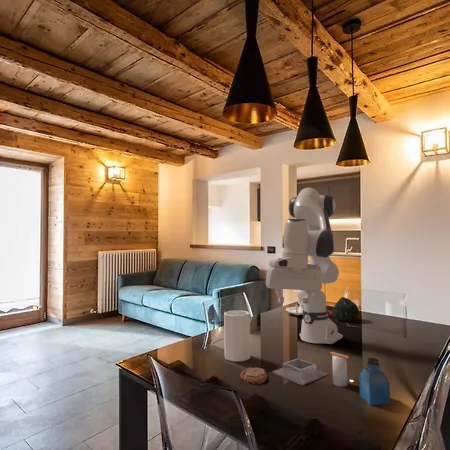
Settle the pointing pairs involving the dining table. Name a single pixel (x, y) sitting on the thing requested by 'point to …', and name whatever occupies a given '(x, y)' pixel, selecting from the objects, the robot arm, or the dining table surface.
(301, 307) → the candlestick
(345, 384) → the white lidded jar
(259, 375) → the cookie
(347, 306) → the squash
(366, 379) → the perfume bottle
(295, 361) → the duct collar
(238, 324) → the cup
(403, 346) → the dining table surface
